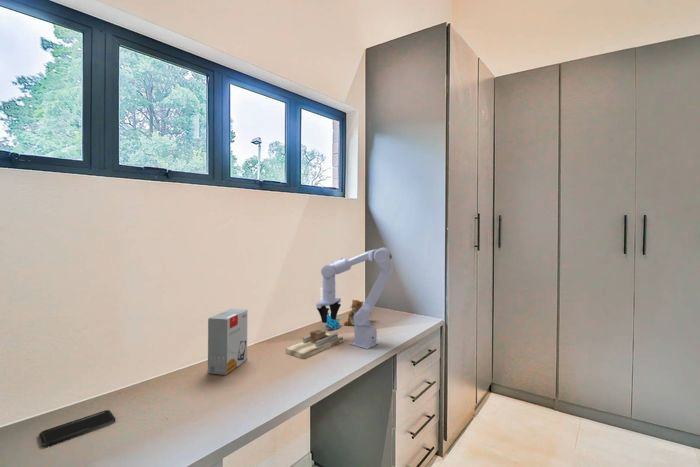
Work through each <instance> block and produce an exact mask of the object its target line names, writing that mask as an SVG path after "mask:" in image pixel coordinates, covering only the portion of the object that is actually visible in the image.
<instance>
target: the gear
mask: <svg viewBox="0 0 700 467" xmlns="http://www.w3.org/2000/svg"><path fill="white" fill-rule="evenodd" d="M340 321H341V318H336V320H333V319H331V313H330V312H329V311H328V314H327V322H326V323H325V327H326V328H328V327H329V326H330V327H329V329H330V330H335V329H336V330H337V329H339V328H340V325H341V323H340Z"/></svg>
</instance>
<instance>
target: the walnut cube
mask: <svg viewBox="0 0 700 467" xmlns="http://www.w3.org/2000/svg"><path fill="white" fill-rule="evenodd" d="M325 331H326V330H325ZM325 331H324V330H322V329H315V330H312V331H310V335H309V336H310V342H312V343H315V342H316V341H318V340H321V339H323V338H325Z"/></svg>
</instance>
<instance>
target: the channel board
mask: <svg viewBox="0 0 700 467" xmlns="http://www.w3.org/2000/svg"><path fill="white" fill-rule="evenodd" d="M323 331H325V338H323V339H321V340H318V341H316V342H315V343H312V342H310V335H308V336H305V337H303V338H302V341H301V342H299V343H295V344H294V345H290V346H288V347H285V354H287V355H290V356H294V357H296V358H299V359H303V360H304V359H306V358H309V357H311V356H313V355H315V354H318V353H320V352H321V351H325V350H327V349H329V348H332V347H333V346H336V345H338V344H340V343H343V342H344V337H343V336H339V334H338V333H337V332H336V333H334V334H333V333H329V332H327V330H323Z"/></svg>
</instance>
